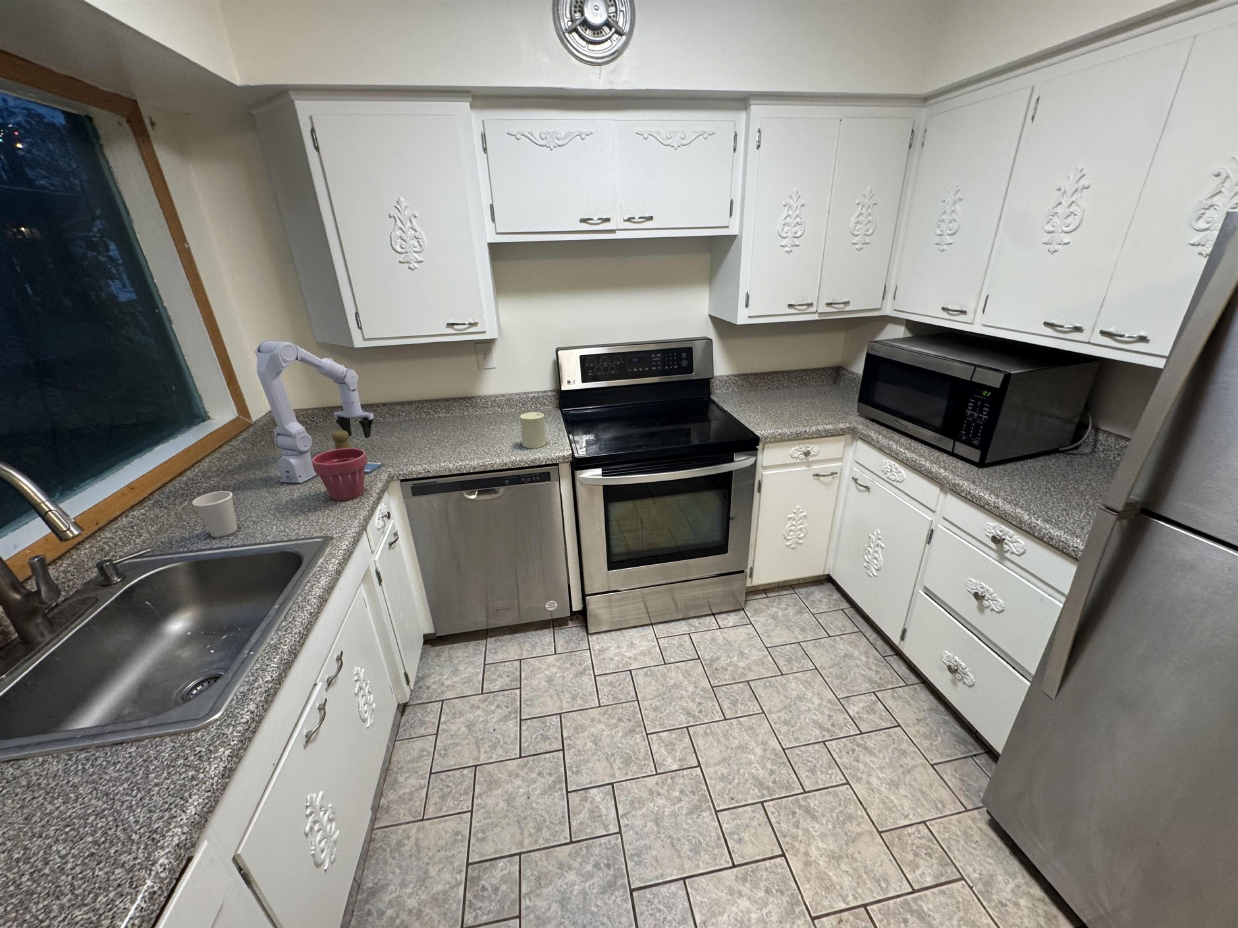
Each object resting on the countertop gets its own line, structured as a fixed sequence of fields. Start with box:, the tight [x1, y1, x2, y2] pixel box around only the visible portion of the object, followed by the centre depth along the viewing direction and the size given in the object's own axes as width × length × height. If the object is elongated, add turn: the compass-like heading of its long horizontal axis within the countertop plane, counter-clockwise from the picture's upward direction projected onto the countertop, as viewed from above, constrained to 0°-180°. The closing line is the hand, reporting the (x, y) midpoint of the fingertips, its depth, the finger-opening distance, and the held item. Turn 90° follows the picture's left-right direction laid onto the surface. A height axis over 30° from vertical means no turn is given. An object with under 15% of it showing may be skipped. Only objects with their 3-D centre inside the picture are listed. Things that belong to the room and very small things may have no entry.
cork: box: [331, 430, 352, 449], centre depth 179 cm, size 6×6×11 cm
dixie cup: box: [191, 490, 238, 538], centre depth 132 cm, size 8×8×10 cm
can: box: [519, 411, 547, 449], centre depth 193 cm, size 9×9×12 cm
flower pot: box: [311, 447, 368, 501], centre depth 153 cm, size 14×14×13 cm
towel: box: [364, 461, 384, 474], centre depth 174 cm, size 8×9×1 cm
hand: (358, 436), depth 187 cm, fingers open, 7 cm apart
